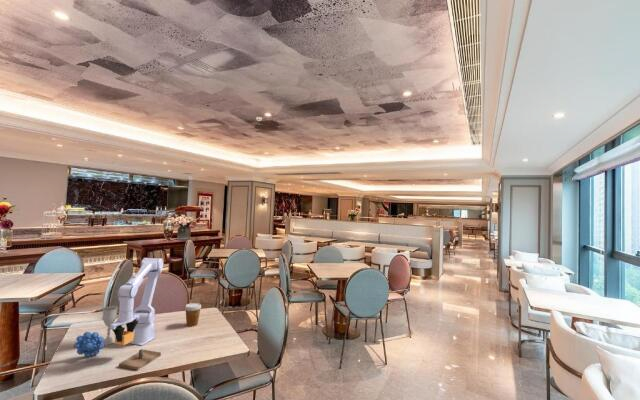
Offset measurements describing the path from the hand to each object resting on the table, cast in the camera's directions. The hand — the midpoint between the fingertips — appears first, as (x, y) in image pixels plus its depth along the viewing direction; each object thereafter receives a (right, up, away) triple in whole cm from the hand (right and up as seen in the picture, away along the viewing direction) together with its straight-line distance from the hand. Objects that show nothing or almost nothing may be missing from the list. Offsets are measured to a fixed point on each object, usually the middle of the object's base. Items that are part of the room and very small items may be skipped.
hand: (124, 338), depth 143 cm
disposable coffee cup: (+15, -11, +42) cm, 46 cm away
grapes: (-16, -8, -2) cm, 18 cm away
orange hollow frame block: (0, -1, 0) cm, 1 cm away
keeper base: (+10, -9, -3) cm, 14 cm away
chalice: (-18, -8, +14) cm, 24 cm away
